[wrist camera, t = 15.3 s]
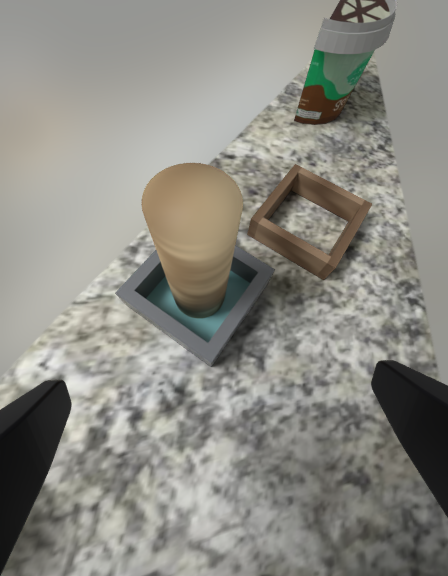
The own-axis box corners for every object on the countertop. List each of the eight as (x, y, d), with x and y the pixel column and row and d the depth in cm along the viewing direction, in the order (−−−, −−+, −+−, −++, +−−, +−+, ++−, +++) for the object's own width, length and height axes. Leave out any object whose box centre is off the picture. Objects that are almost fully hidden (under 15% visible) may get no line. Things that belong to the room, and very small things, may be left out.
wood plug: (231, 280, 23) (255, 180, 12) (213, 326, 21) (222, 258, 10) (186, 264, 23) (168, 151, 12) (165, 307, 22) (122, 222, 11)
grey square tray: (267, 284, 24) (275, 269, 21) (211, 367, 20) (211, 363, 18) (190, 235, 25) (187, 215, 22) (126, 305, 22) (115, 293, 19)
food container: (336, 144, 31) (389, 40, 22) (289, 127, 32) (322, 20, 23) (360, 90, 36) (412, -15, 27) (319, 77, 37) (355, -30, 27)
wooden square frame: (358, 220, 27) (372, 204, 25) (323, 280, 24) (335, 268, 22) (288, 182, 28) (295, 163, 26) (247, 234, 26) (251, 218, 23)
